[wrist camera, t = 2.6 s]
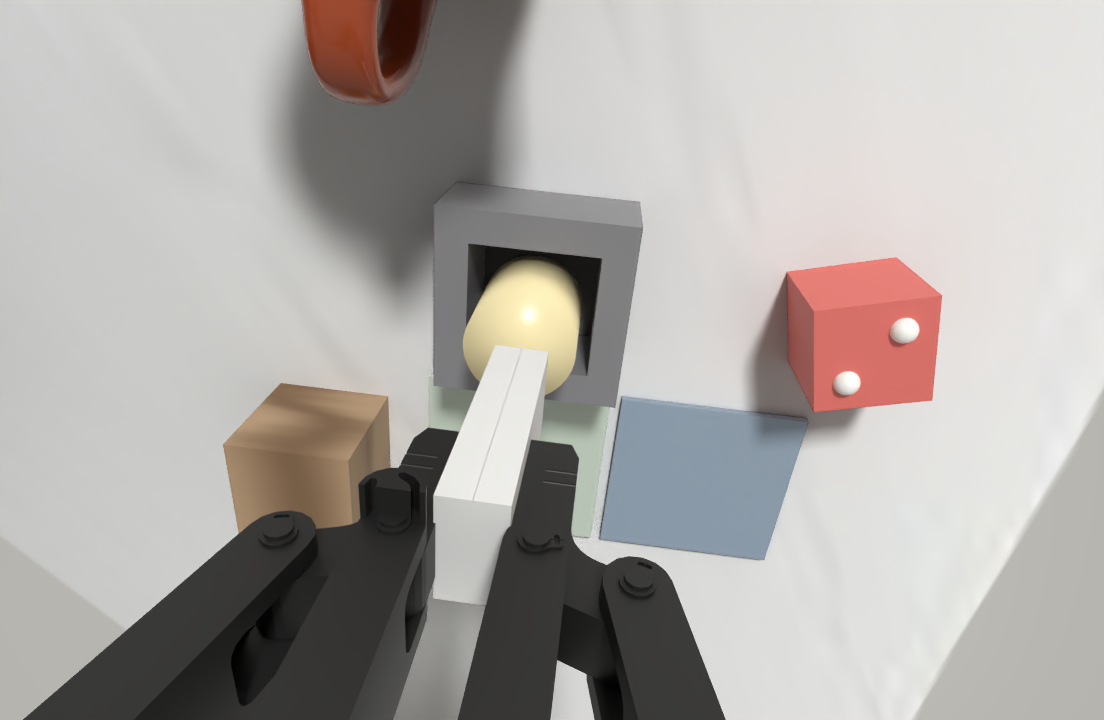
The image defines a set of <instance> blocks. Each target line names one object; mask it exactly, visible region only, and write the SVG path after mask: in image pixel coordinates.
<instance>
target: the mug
mask: <svg viewBox="0 0 1104 720" xmlns="http://www.w3.org/2000/svg"><path fill="white" fill-rule="evenodd" d="M437 1H438V0H301V3H302V10H303V20H304V29H305V38H306V44H307V50H308V55H309V59H310V63H311V66H312V69H313V72H314V74H315V76H316V78H317V80H318V82H319V84H320V85H321V87H322V88H323V89H324V90H325V91H326V92H327V93H328V94H329V95H330V96H332V97H334V98H336V99H338V100H341V101H343V102H347V103H353V104H359V105H367V106H383V105H387V104H390V103H392V102H394V101H396V100H397V99H399V98H400V97H401V96H403V95H404V94H405V93H406V91H407V90H408V89H409V87H410V86H411V84H412V83H413V81H414V80H415V78H416V76H417V74H418V71H419V69H420V66H421V63H422V60H423V57H424V53H425V49H426V45H427V41H428V36H429V31H430V26H431V22H432V17H433V14H434V10H435V7H436V4H437Z"/></svg>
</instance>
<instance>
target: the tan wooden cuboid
mask: <svg viewBox="0 0 1104 720" xmlns="http://www.w3.org/2000/svg"><path fill="white" fill-rule="evenodd" d="M223 447H224V452H225V458H226V464H227V469H228V475H229V481H230V486H231V492H232V498H233V503H234V509H235V514H236V520H237V526H238V531H239V533H240V532H241V531H243V530H244V529H245V528H246V527H247V526H248V525H250V524H251V523H252V522H254V521H255V520H257V519H259V518H260V517H262V516H265V515H267V514H270V513H273V512H278V511H289V510H290V511H296V512H302V513H304V514H305V515H307V516H309V517H311V518H312V520H313V522H314V523H315V525H316V529H319V528H329V527H339V526H345V525H350V524H353V523H356V522H358V521H359V519H360V505H359V489H358V484H359V483H360V482H361V481H362V480H363V479H364V477H365V476H367V475H369V474H371V473H373V472H375V471H378V470H382V469H386V468H390V439H389V409H388V396H380V395H372V394H363V393H355V392H347V391H339V390H331V389H323V388H315V387H307V386H299V385H291V384H283V383H281V384H280V385H279V386H278V387H277V388H276V389H275V390H274V391H273V392H272V393H271V394H270V395H269V396H268V397H267V398H266V400H265V401H264V402H263V403H262V404H261V405H260V406H259V407H258V408H257V409H256V410H255V411H254V412H253V413H252V414H251V415H250V417H249V418H248V419H247V420H246V421H245V422H244V423H243V424H242V425H241V426H240V427H239V428H238V429H237V430H236V431H235V432H234V434H233V435H232V436H231V437H230V438H229V439H228V440H227V441H226V442H225V443H224V444H223Z"/></svg>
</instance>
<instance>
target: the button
mask: <svg viewBox="0 0 1104 720" xmlns="http://www.w3.org/2000/svg"><path fill="white" fill-rule="evenodd" d="M581 310H582V296H581V292H580V288H579V286H578V284H577V282H576V280H575V278H574V277H573V276H572V274H571V273H570V272H569V271H568V270H567V269H566V268H565V267H563V266H562V265H561V264H559V263H558V262H556V261H554V260H551V259H549V258H546V257H542V256H533V255H529V256H521V257H517V258H514V259H512V260H510V261H508V262H506V263H504V264H503V265H502V266H500V267H499V268H498V269H497V270H496V271H495V273H494V274H493V275H492V277H491V279H490V280H489V282H488V284H487V286H486V288H485V290H484V292H483V294H482V296H481V298H480V300H479V302H478V304H477V306H476V308H475V310H474V312H473V314H472V316H471V318H470V320H469V323H468V325H467V327H466V329H465V333H464V337H463V352H464V357H465V360H466V363H467V365H468V367H469V369H470V371H471V372H472V374H473V375H474V376H475V378H476V379H477V380H478V381H479V382H480V381H481V379H482V376H483V374H484V372H485V369H486V367H487V364H488V362H489V359H490V357H491V355H492V352H493V350H494V347H495V345H500V346H508V347H516V348H525V349H533V350H541V351H549V355H548V365H547V376H546V387H545V395H546V394H549V393H551V392H552V391H554V390H556V389H557V388H558V387H559V386H561V385H562V384H563V383H564V382H565V380H566V379H567V378H568V376H569V375H570V373H571V371H572V369H573V366H574V363H575V358H576V350H577V342H578V334H579V326H580V318H581Z"/></svg>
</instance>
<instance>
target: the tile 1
mask: <svg viewBox="0 0 1104 720" xmlns="http://www.w3.org/2000/svg"><path fill="white" fill-rule="evenodd" d="M475 393H476V391H472V390H464V389H456V388H447V387H439V386H433V374H432V373H431V374H430V376H429V428H436V429H444V430H451V431H459V432H460V430H461V427H462V425H463V422H464V420H465V418H466V415H467V413H468V410H469V408H470V405H471V403H472V401H473V398H474V396H475ZM609 408H610V407H605V406H596V405H588V404H580V403H571V402H563V401H555V400H547V399H544V408H543V418H542V429H541V436H540V441H546V442H554V443H561V444H569V445H572V446H573V448H574V450H575V452H576V454H577V456H578V457H579V464H578V473H577V483H576V492H575V501H574V510H573V519H572V528H571V531H572V535H573V536H580V537H588V538H590V534H591V528H592V521H593V514H594V508H595V501H596V494H597V488H598V481H599V474H600V468H601V461H602V454H603V448H604V441H605V434H606V428H607V421H608V414H609Z"/></svg>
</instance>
